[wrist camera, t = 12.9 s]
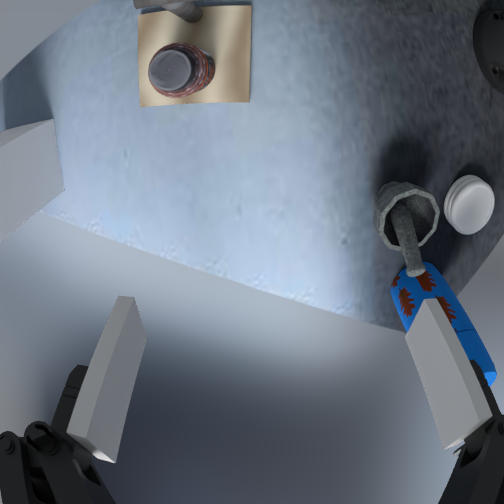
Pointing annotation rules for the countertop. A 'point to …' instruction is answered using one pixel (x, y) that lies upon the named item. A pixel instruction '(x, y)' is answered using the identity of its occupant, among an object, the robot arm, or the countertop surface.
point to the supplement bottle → (180, 70)
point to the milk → (27, 173)
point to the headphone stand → (202, 36)
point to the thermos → (435, 286)
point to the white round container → (469, 204)
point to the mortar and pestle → (406, 220)
